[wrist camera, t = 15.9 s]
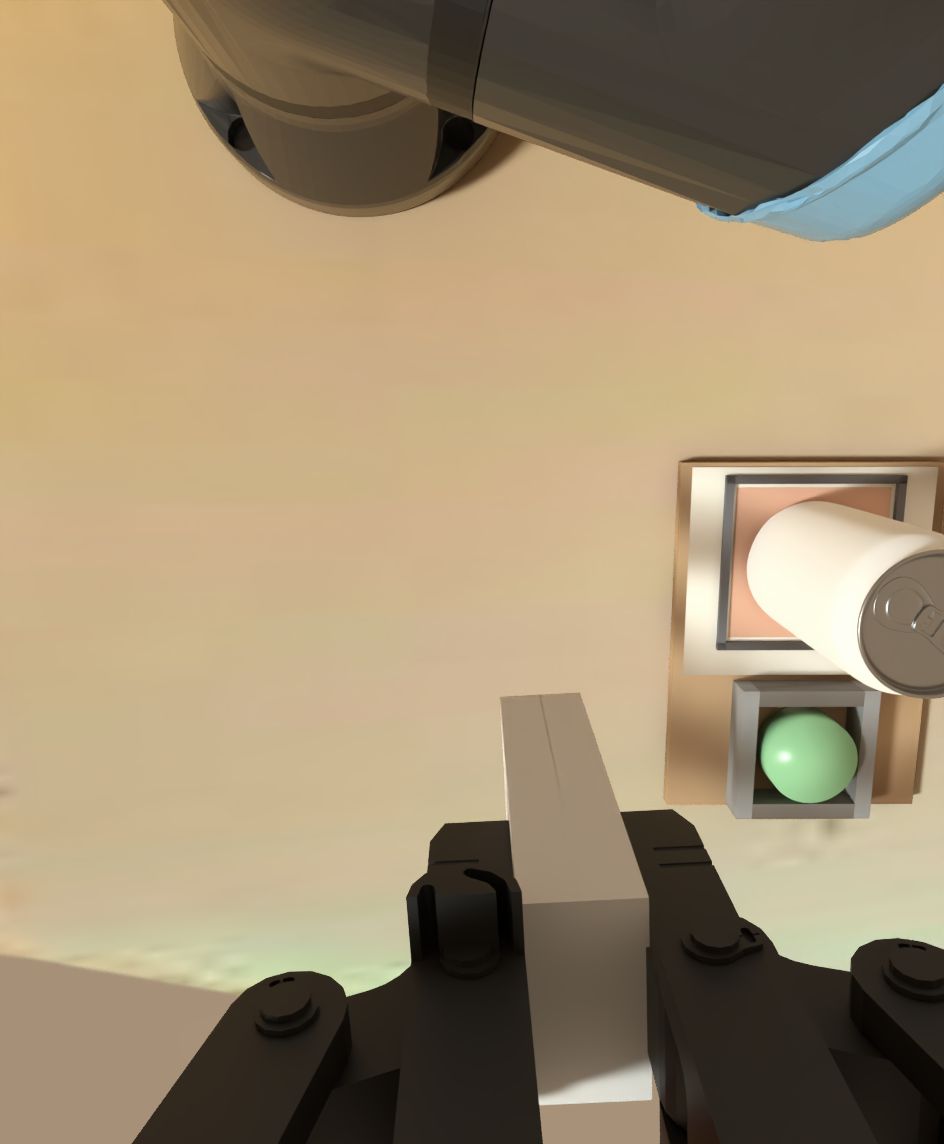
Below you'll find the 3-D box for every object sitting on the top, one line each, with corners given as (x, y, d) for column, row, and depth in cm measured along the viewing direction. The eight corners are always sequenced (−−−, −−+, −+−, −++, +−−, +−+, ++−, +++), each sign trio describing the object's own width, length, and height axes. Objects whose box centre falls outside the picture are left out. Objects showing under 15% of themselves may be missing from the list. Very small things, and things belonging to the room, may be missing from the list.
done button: (757, 705, 44) (771, 719, 42) (843, 705, 44) (861, 719, 42) (752, 785, 45) (765, 803, 43) (836, 785, 45) (853, 803, 43)
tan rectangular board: (678, 461, 43) (692, 465, 41) (939, 461, 43) (968, 465, 41) (663, 798, 47) (674, 821, 44) (904, 796, 47) (929, 820, 44)
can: (791, 474, 42) (916, 504, 31) (899, 541, 43) (1061, 594, 31) (718, 586, 43) (811, 656, 32) (824, 649, 44) (953, 740, 32)
